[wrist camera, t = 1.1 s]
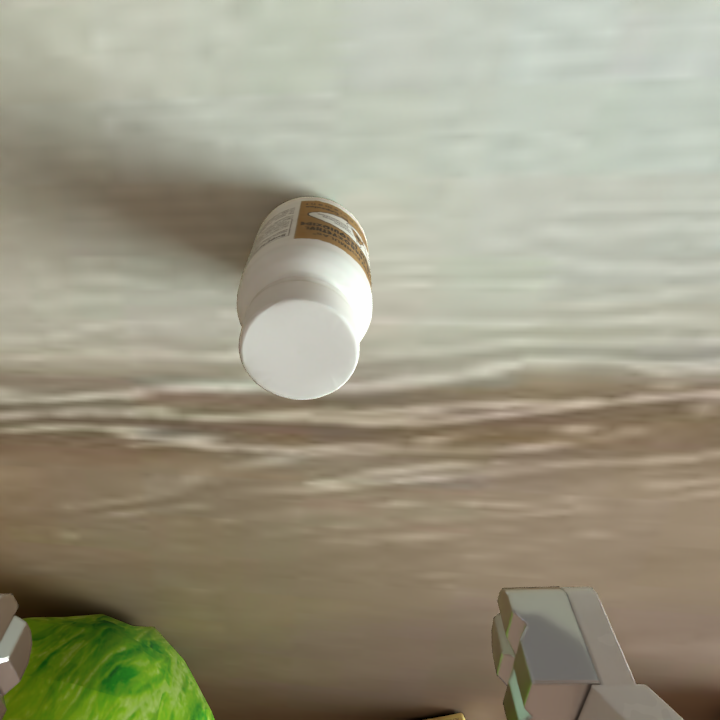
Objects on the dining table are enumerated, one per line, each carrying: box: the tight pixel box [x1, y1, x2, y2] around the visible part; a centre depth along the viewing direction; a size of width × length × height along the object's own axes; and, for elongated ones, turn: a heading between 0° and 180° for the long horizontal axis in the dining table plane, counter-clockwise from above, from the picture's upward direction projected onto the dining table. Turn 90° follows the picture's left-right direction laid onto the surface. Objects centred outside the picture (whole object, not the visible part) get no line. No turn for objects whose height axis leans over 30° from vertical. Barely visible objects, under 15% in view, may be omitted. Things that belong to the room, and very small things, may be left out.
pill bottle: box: [237, 197, 372, 400], centre depth 20 cm, size 4×4×8 cm
